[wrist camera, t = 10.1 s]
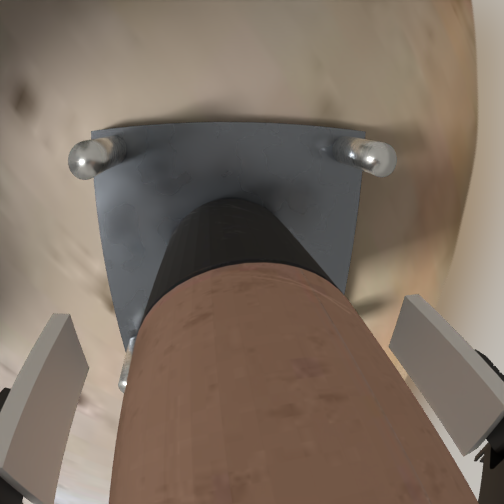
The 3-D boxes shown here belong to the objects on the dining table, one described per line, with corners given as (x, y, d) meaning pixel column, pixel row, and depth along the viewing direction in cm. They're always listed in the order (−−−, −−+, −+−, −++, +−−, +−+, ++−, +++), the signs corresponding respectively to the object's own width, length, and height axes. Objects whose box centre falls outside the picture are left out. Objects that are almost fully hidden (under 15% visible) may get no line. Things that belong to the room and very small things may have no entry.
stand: (130, 344, 21) (117, 399, 16) (100, 130, 15) (58, 135, 10) (326, 333, 23) (353, 382, 18) (353, 130, 17) (405, 137, 12)
